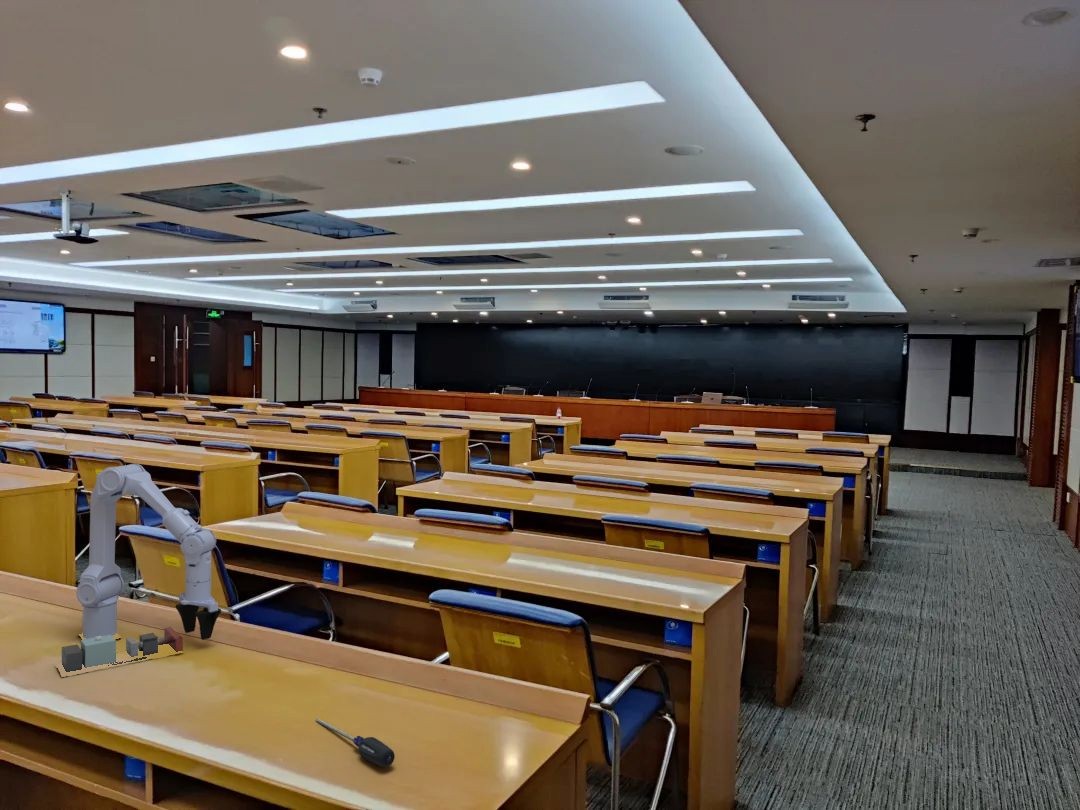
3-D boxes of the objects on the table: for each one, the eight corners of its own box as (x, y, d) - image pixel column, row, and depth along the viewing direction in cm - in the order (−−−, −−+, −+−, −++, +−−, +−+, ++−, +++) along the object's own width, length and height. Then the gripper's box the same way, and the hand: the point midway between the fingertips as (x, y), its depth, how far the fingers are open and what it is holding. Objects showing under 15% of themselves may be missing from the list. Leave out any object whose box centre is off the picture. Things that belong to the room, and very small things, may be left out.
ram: (123, 647, 177) (123, 635, 177) (170, 639, 184) (170, 626, 184) (133, 660, 170) (133, 647, 170) (182, 650, 177) (182, 637, 177)
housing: (80, 661, 169) (80, 636, 169) (110, 655, 173) (110, 631, 173) (85, 668, 166) (85, 642, 166) (115, 662, 170) (115, 636, 170)
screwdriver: (307, 723, 143) (307, 703, 143) (324, 718, 146) (325, 698, 146) (379, 776, 124) (380, 754, 124) (398, 769, 127) (398, 747, 127)
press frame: (55, 667, 168) (55, 646, 168) (174, 644, 184) (174, 625, 184) (61, 678, 162) (61, 657, 161) (183, 653, 178) (183, 634, 178)
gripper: (167, 578, 184) (166, 632, 185) (198, 588, 176) (197, 646, 176) (194, 572, 190) (194, 625, 190) (226, 582, 181) (225, 638, 182)
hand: (197, 635), depth 184 cm, fingers open, 7 cm apart
